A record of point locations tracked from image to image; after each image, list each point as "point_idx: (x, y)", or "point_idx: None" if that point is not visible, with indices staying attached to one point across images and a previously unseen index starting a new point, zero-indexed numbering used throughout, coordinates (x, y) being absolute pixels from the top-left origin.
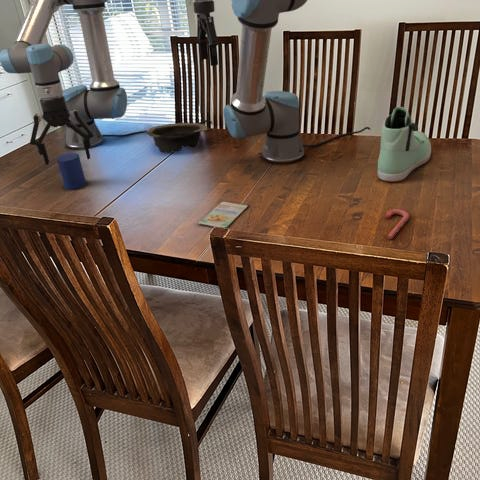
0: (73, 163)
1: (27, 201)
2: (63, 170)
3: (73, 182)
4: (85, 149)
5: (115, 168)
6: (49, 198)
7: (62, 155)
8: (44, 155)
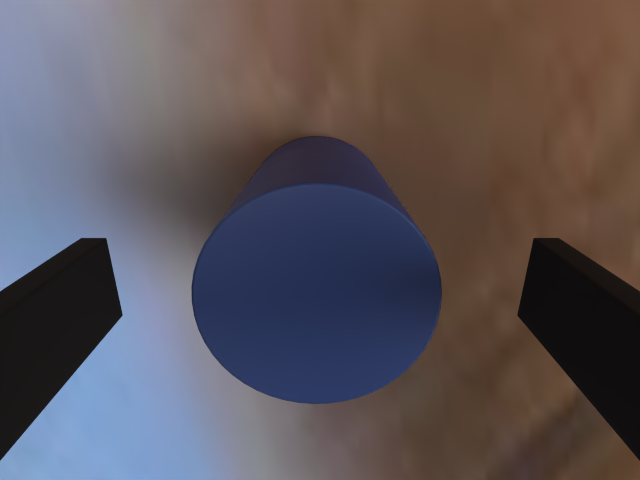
0: (254, 187)
1: (634, 43)
2: (374, 176)
3: (311, 143)
4: (21, 297)
5: (104, 371)
6: (483, 40)
7: (382, 366)
8: (620, 289)
